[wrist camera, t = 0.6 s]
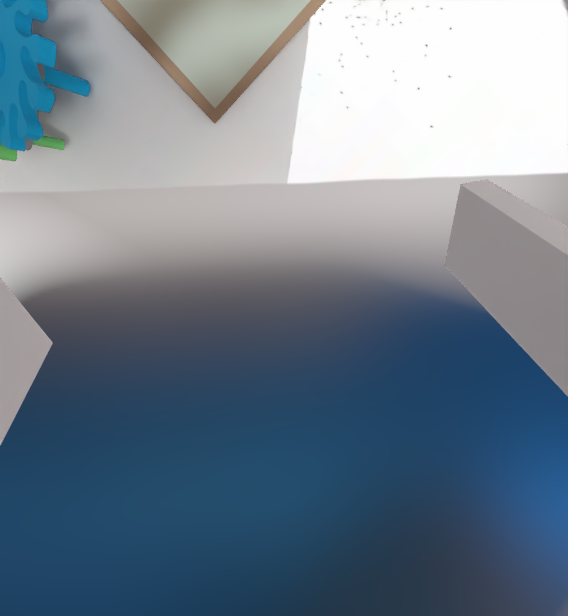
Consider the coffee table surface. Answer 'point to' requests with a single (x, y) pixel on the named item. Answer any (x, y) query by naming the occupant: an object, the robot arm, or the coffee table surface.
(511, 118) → the coffee table surface
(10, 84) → the gear
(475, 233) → the robot arm
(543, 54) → the coffee table surface
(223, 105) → the hinge board
